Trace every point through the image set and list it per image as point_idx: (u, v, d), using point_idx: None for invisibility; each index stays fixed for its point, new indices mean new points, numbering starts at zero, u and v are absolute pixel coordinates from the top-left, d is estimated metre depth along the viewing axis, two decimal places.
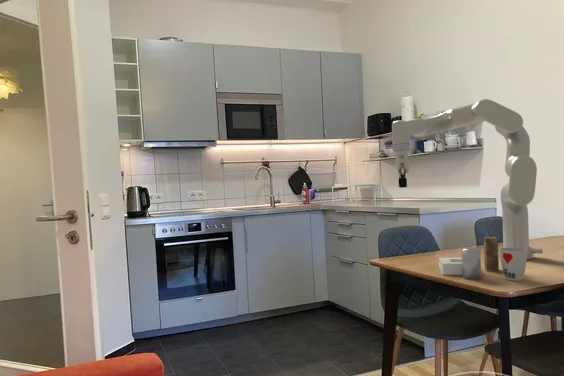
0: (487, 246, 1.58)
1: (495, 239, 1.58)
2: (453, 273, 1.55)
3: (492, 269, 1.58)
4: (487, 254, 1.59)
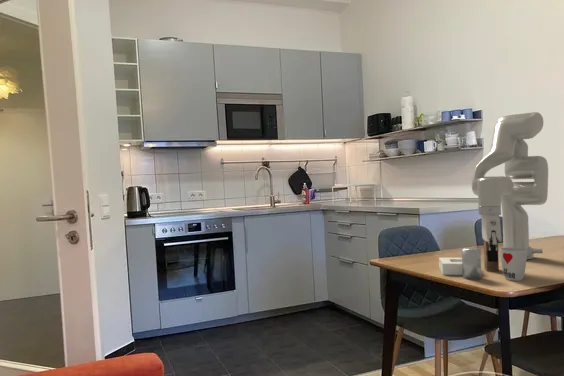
0: (487, 246, 1.58)
1: None
2: (453, 273, 1.55)
3: (492, 269, 1.58)
4: (487, 254, 1.59)
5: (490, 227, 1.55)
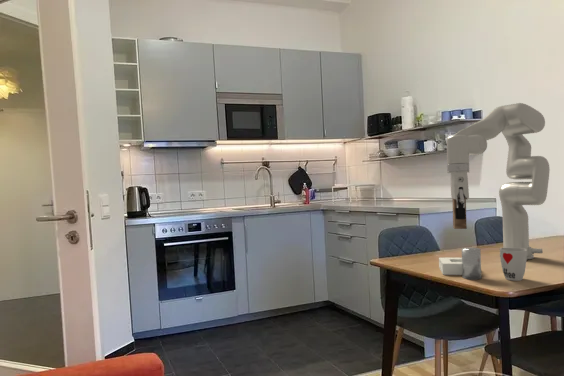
0: (455, 204, 1.58)
1: None
2: (453, 273, 1.55)
3: (460, 227, 1.58)
4: (455, 212, 1.58)
5: (458, 184, 1.55)
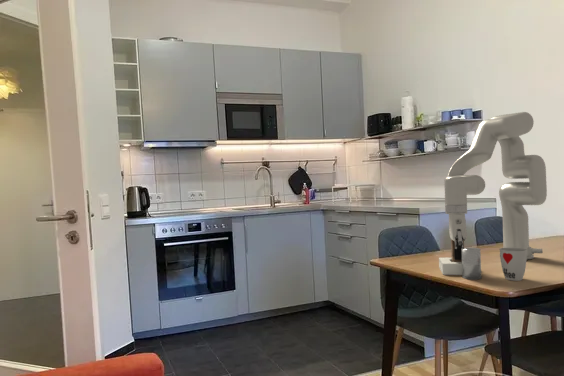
0: (453, 247, 1.59)
1: None
2: (453, 273, 1.55)
3: None
4: (453, 255, 1.59)
5: (455, 226, 1.55)
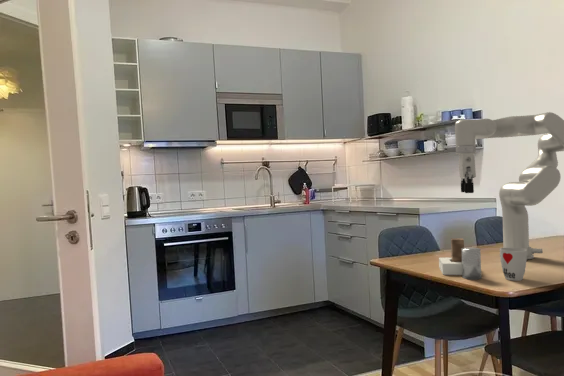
0: (453, 247, 1.59)
1: (461, 240, 1.58)
2: (453, 273, 1.55)
3: None
4: (453, 255, 1.59)
5: (465, 164, 1.72)
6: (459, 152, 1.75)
